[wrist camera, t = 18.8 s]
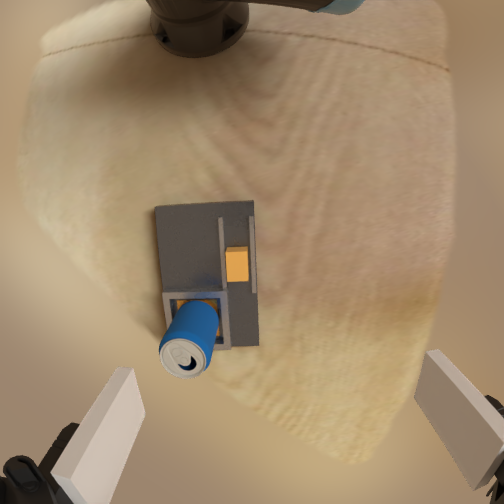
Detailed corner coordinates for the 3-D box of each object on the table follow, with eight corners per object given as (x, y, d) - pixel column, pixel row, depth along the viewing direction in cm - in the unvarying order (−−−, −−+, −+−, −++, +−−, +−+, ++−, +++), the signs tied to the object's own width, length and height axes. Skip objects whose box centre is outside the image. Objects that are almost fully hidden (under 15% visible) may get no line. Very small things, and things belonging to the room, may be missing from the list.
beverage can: (195, 344, 48) (180, 389, 36) (168, 312, 47) (145, 351, 35) (228, 323, 47) (220, 366, 35) (201, 290, 46) (185, 326, 34)
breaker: (227, 247, 44) (225, 252, 41) (247, 246, 44) (247, 251, 41) (229, 274, 45) (227, 281, 42) (248, 274, 45) (248, 281, 42)
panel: (158, 205, 45) (151, 207, 42) (253, 200, 45) (253, 201, 42) (174, 340, 50) (169, 350, 47) (258, 339, 50) (259, 350, 46)
